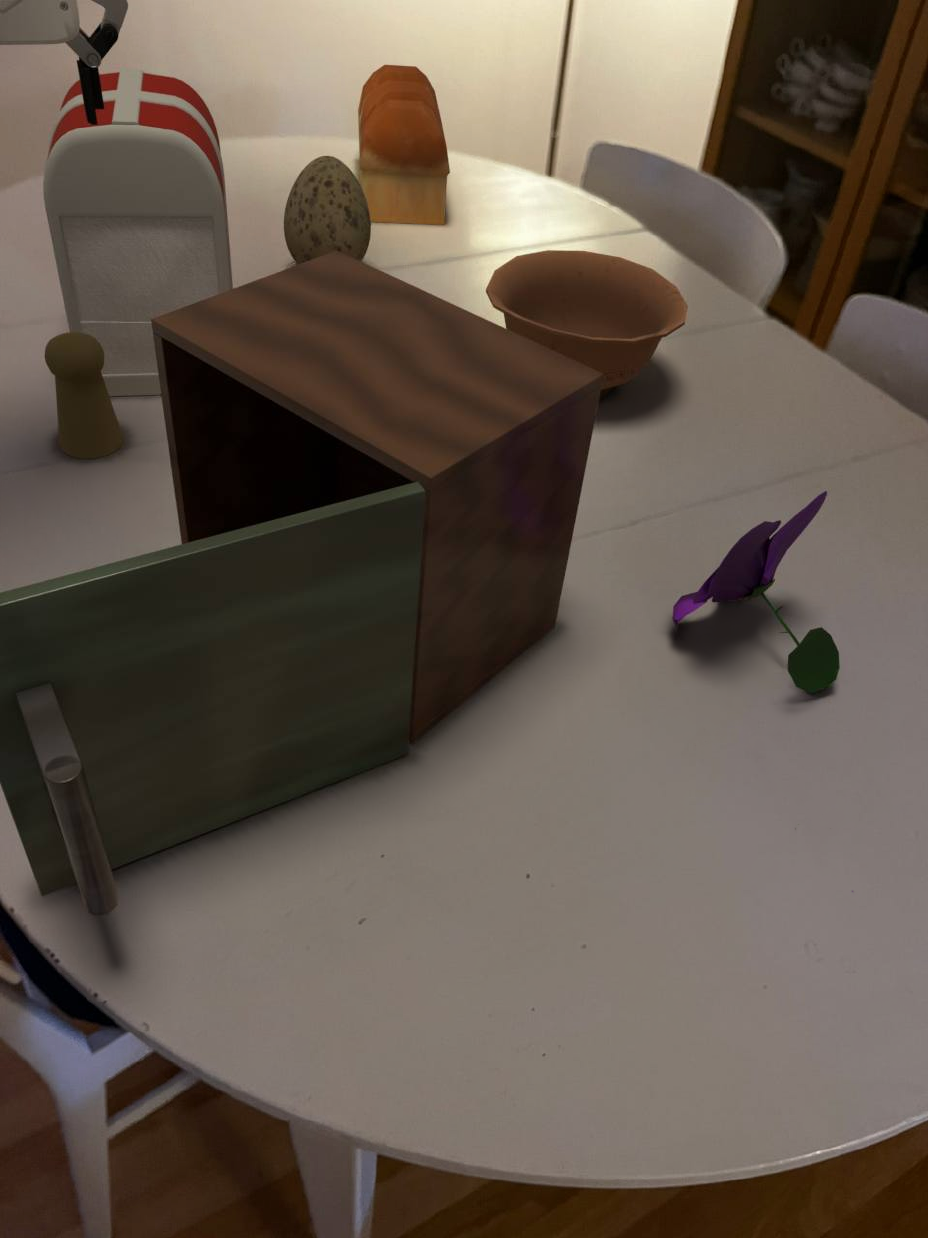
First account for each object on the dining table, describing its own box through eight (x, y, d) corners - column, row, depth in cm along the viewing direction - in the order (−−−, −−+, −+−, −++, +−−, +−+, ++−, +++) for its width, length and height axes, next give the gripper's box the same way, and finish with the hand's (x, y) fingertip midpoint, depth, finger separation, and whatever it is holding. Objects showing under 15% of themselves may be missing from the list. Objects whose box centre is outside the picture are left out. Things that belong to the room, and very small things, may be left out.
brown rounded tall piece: (75, 465, 98) (53, 361, 90) (48, 435, 101) (25, 333, 93) (134, 446, 101) (117, 344, 93) (106, 418, 104) (88, 317, 96)
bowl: (445, 395, 113) (452, 301, 105) (521, 317, 128) (532, 231, 120) (634, 454, 107) (656, 360, 99) (690, 366, 122) (713, 278, 115)
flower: (821, 677, 92) (733, 554, 94) (951, 611, 79) (847, 471, 81) (721, 754, 84) (628, 619, 86) (848, 695, 71) (736, 538, 73)
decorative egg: (353, 302, 127) (354, 179, 117) (272, 285, 129) (266, 162, 118) (380, 268, 135) (384, 150, 125) (304, 253, 136) (301, 135, 126)
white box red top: (79, 397, 106) (24, 122, 88) (90, 318, 119) (44, 63, 101) (241, 392, 110) (220, 126, 91) (235, 315, 122) (216, 68, 104)
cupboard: (411, 745, 76) (430, 478, 59) (186, 581, 87) (150, 318, 71) (555, 627, 86) (604, 373, 70) (338, 494, 98) (337, 249, 81)
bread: (446, 225, 147) (453, 116, 137) (359, 222, 146) (360, 111, 136) (435, 163, 165) (440, 63, 155) (357, 159, 164) (358, 58, 154)
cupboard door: (455, 823, 71) (487, 559, 54) (71, 989, 60) (-29, 721, 44) (402, 744, 75) (417, 480, 59) (37, 885, 65) (-64, 608, 48)
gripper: (-186, -155, 61) (-101, 142, 73) (112, -143, 66) (148, 134, 78) (-175, -173, 66) (-96, 108, 78) (102, -160, 72) (137, 102, 83)
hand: (26, 120), depth 78 cm, fingers open, 9 cm apart
